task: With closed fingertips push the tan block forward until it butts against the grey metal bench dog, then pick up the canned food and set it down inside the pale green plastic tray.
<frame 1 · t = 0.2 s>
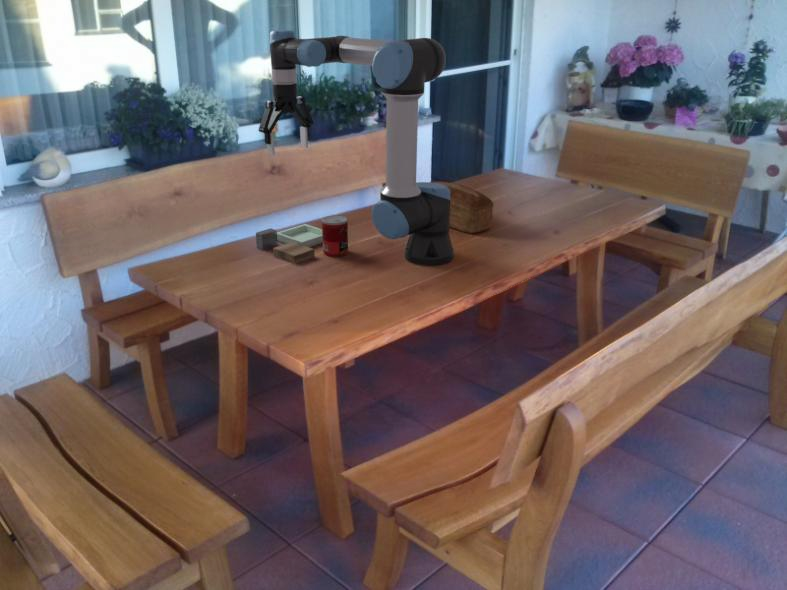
hand: (287, 150, 242), 28 cm above the table, fingers open, 13 cm apart
canned food: (335, 253, 235), on the table
bread: (452, 223, 264), on the table
tray: (303, 240, 246), on the table
tan block: (294, 257, 232), on the table
bench dog: (267, 246, 240), on the table
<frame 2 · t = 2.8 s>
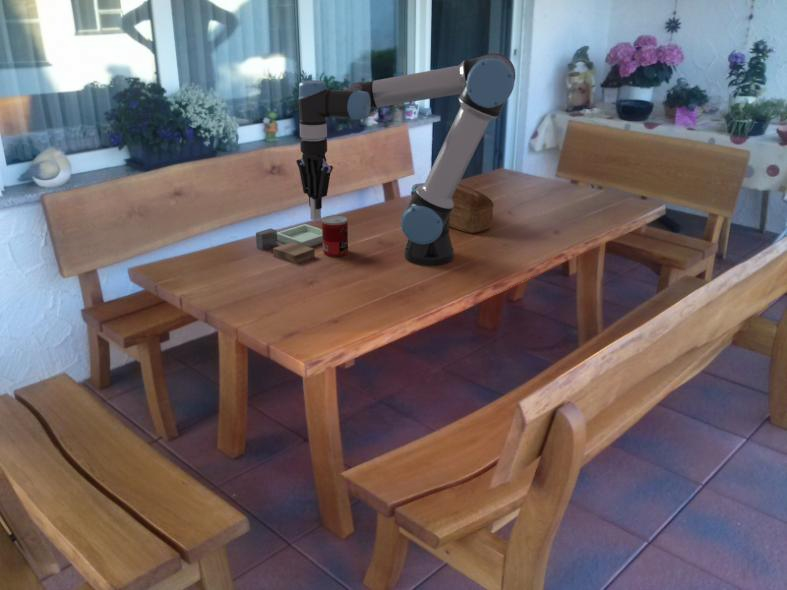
hand: (315, 218, 220), 15 cm above the table, fingers closed
nothing on the table moved.
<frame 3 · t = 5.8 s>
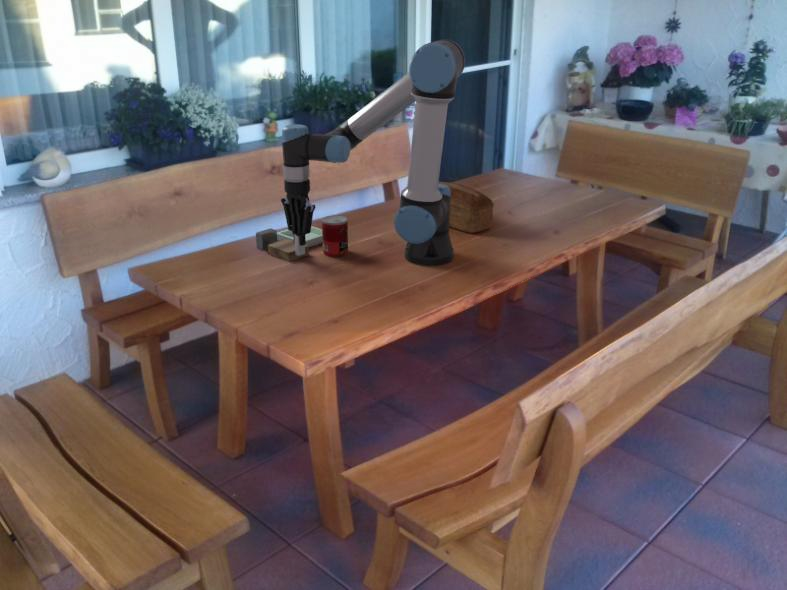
hand: (300, 254, 230), 2 cm above the table, fingers closed
tan block: (288, 254, 234), on the table
everything else where it was.
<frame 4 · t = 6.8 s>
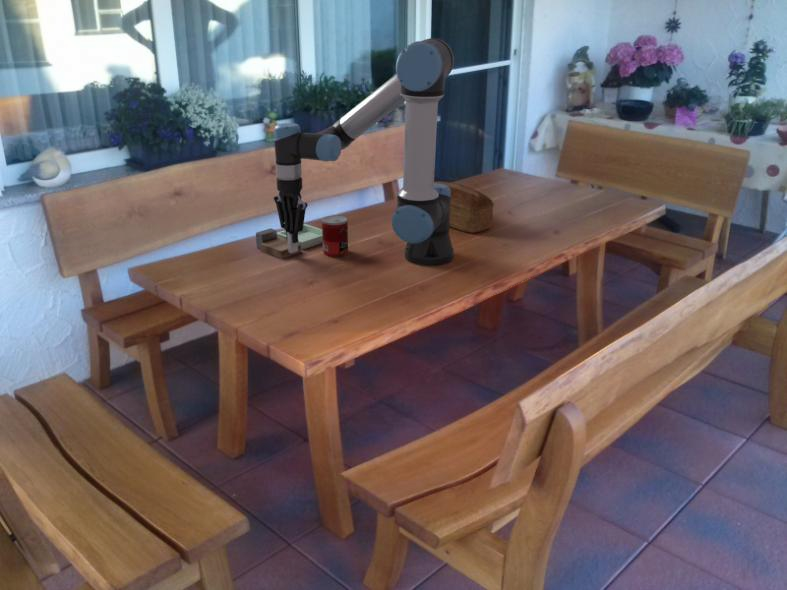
hand: (292, 251, 232), 1 cm above the table, fingers closed
tan block: (281, 253, 236), on the table
everything else where it was.
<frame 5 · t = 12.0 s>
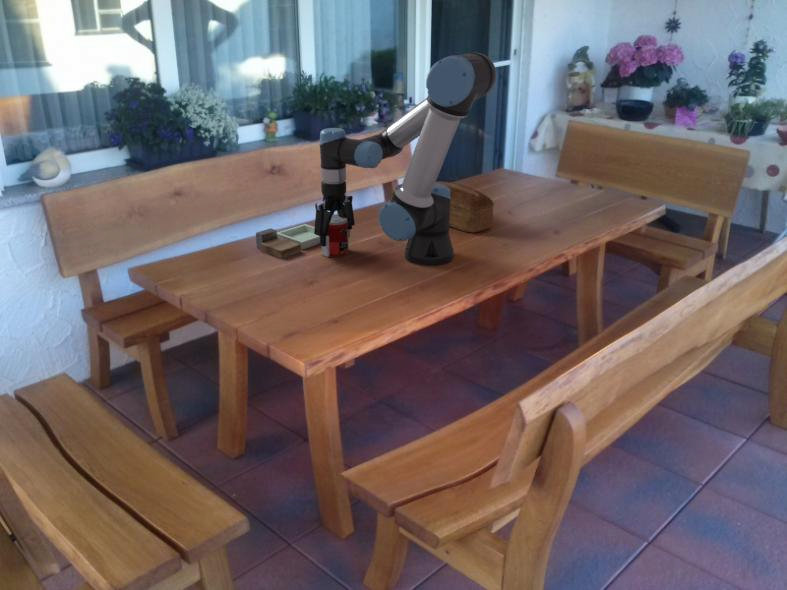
hand: (335, 251, 235), 0 cm above the table, fingers closed on canned food, 8 cm apart
canned food: (335, 253, 235), on the table, touching gripper
everything else where it was.
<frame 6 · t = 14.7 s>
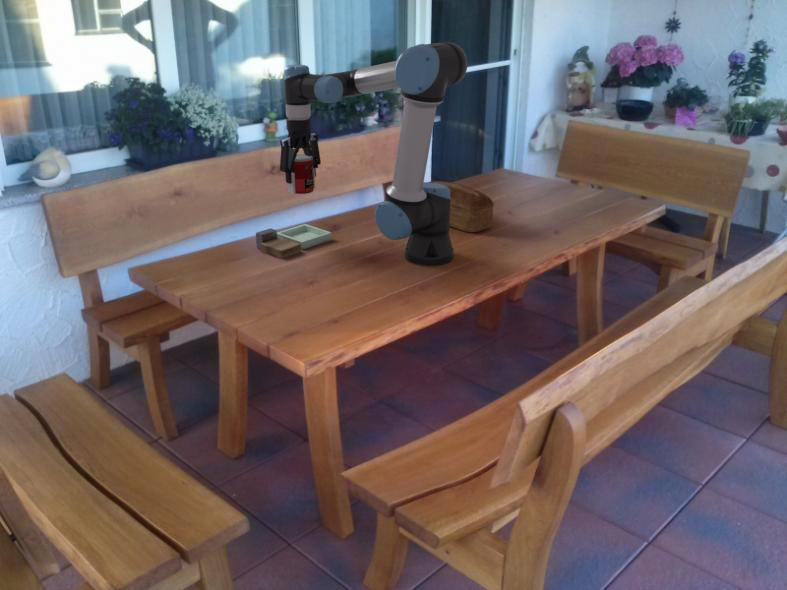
hand: (301, 190, 239), 17 cm above the table, fingers closed on canned food, 8 cm apart
canned food: (301, 191, 239), point 16 cm above the table, touching gripper
everything else where it was.
when the fingers open (3 cm above the table, at t = 17.6 s): canned food drops 2 cm, resting on tray.
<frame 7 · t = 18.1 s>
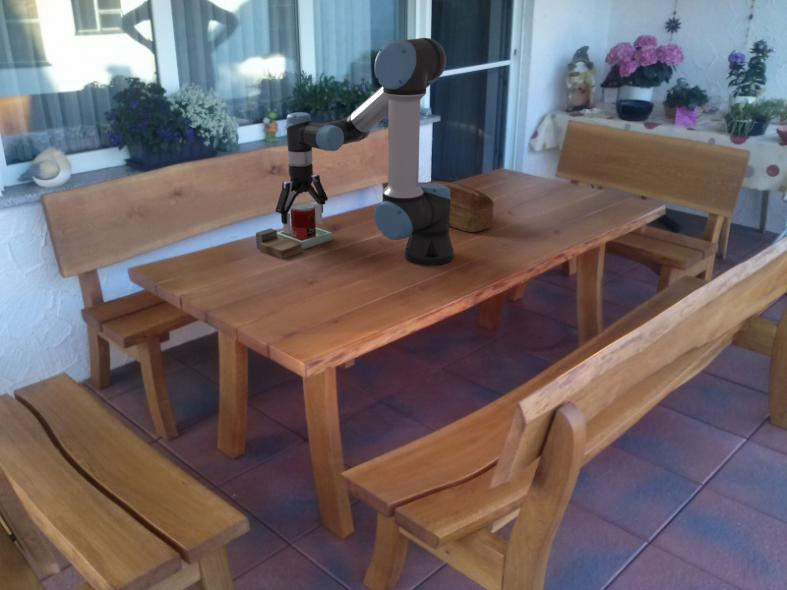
hand: (303, 227, 244), 4 cm above the table, fingers open, 13 cm apart
canned food: (303, 238, 246), resting on tray
everything else where it was.
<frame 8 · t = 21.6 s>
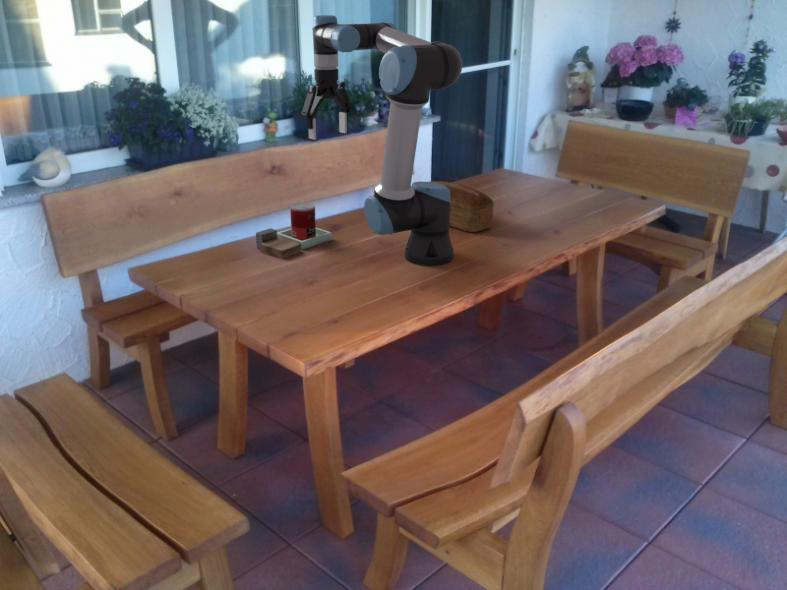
hand: (328, 135, 244), 32 cm above the table, fingers open, 13 cm apart
nothing on the table moved.
at the end: tan block 0.8 cm from the target spot, on the table; canned food 0.1 cm from the tray (horizontally); canned food tilted 0° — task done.
